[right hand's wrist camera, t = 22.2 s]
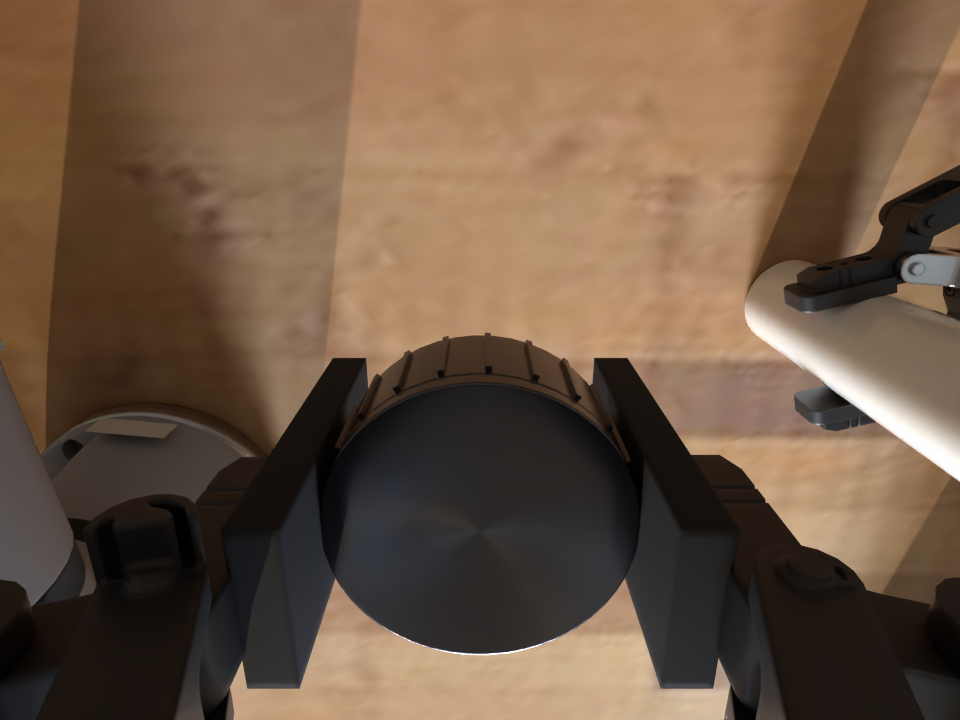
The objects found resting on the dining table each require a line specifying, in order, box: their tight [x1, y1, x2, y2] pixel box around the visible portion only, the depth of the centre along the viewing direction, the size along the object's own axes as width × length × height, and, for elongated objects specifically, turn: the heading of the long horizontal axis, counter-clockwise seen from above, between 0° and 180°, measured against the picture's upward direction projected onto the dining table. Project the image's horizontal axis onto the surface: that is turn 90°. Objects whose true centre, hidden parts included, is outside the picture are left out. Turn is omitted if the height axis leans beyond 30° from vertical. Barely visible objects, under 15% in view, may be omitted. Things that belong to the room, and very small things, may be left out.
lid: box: [320, 333, 641, 655], centre depth 11 cm, size 5×5×2 cm
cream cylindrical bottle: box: [745, 260, 960, 482], centre depth 24 cm, size 5×5×19 cm
